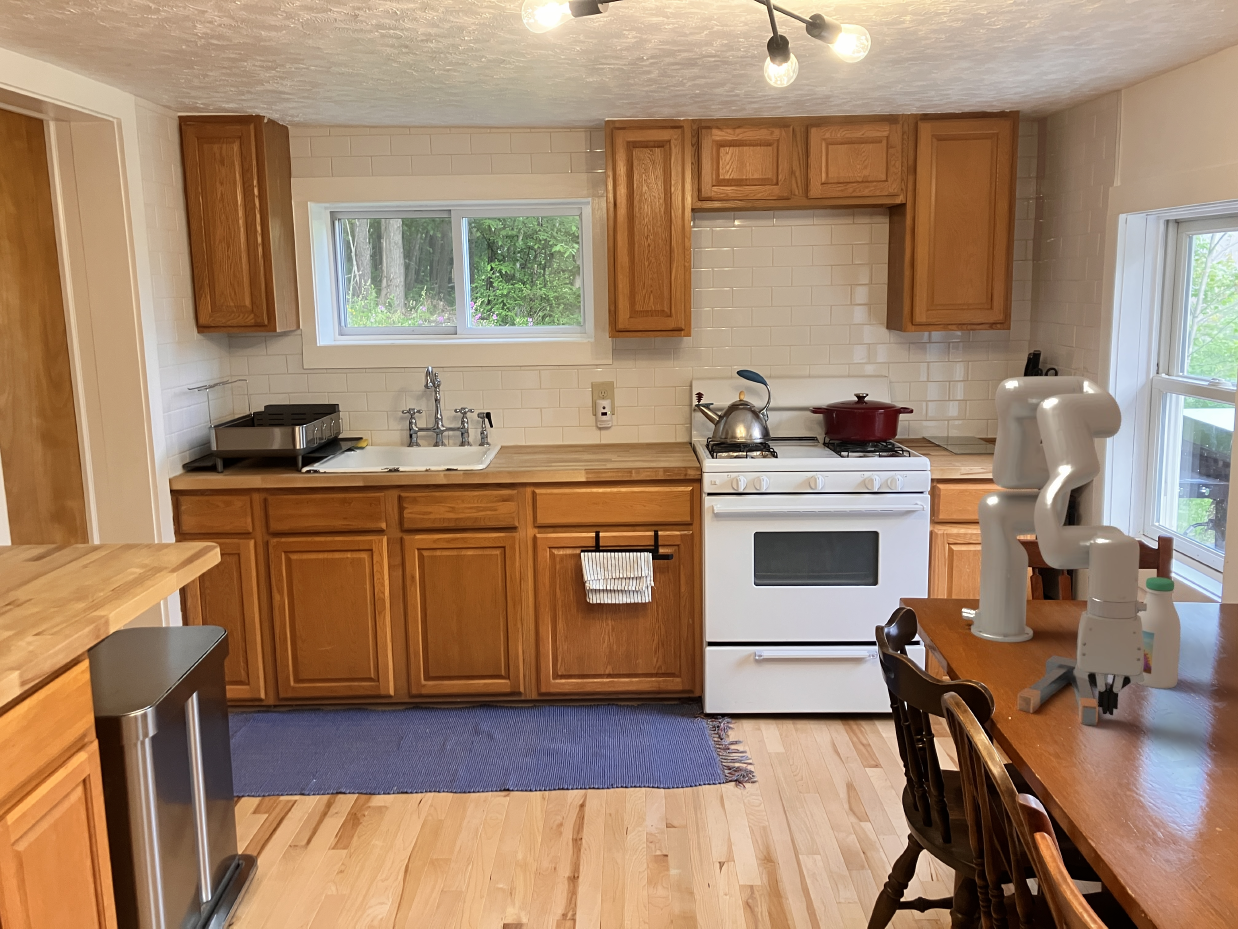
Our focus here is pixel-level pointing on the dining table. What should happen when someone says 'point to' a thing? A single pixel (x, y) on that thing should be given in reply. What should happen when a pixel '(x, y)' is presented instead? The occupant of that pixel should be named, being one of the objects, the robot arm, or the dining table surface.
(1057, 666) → the tongs base
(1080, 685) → the arm
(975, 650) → the dining table surface
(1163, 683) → the milk bottle
